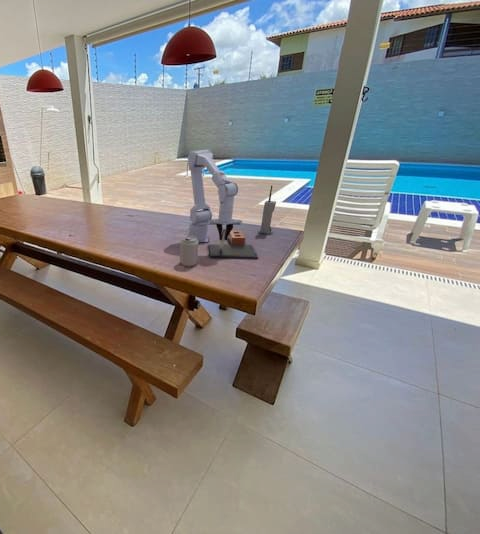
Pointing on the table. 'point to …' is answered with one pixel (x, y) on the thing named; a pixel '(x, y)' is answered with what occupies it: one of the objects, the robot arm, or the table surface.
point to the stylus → (222, 239)
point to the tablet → (232, 251)
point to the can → (189, 251)
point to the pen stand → (237, 238)
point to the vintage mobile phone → (267, 215)
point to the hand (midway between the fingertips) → (223, 239)
